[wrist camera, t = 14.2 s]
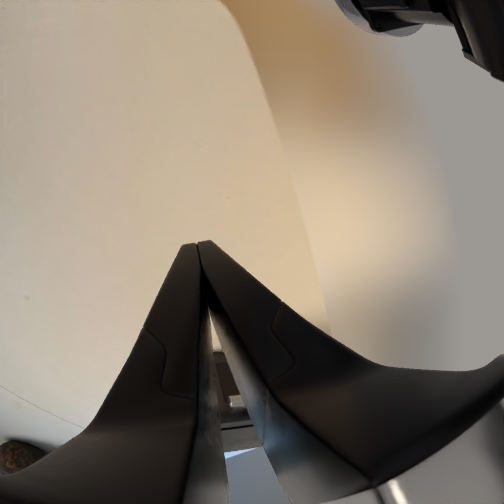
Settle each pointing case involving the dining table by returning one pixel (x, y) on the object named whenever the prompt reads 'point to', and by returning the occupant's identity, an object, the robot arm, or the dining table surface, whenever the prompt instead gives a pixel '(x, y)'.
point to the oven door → (229, 395)
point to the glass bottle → (17, 457)
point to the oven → (240, 438)
